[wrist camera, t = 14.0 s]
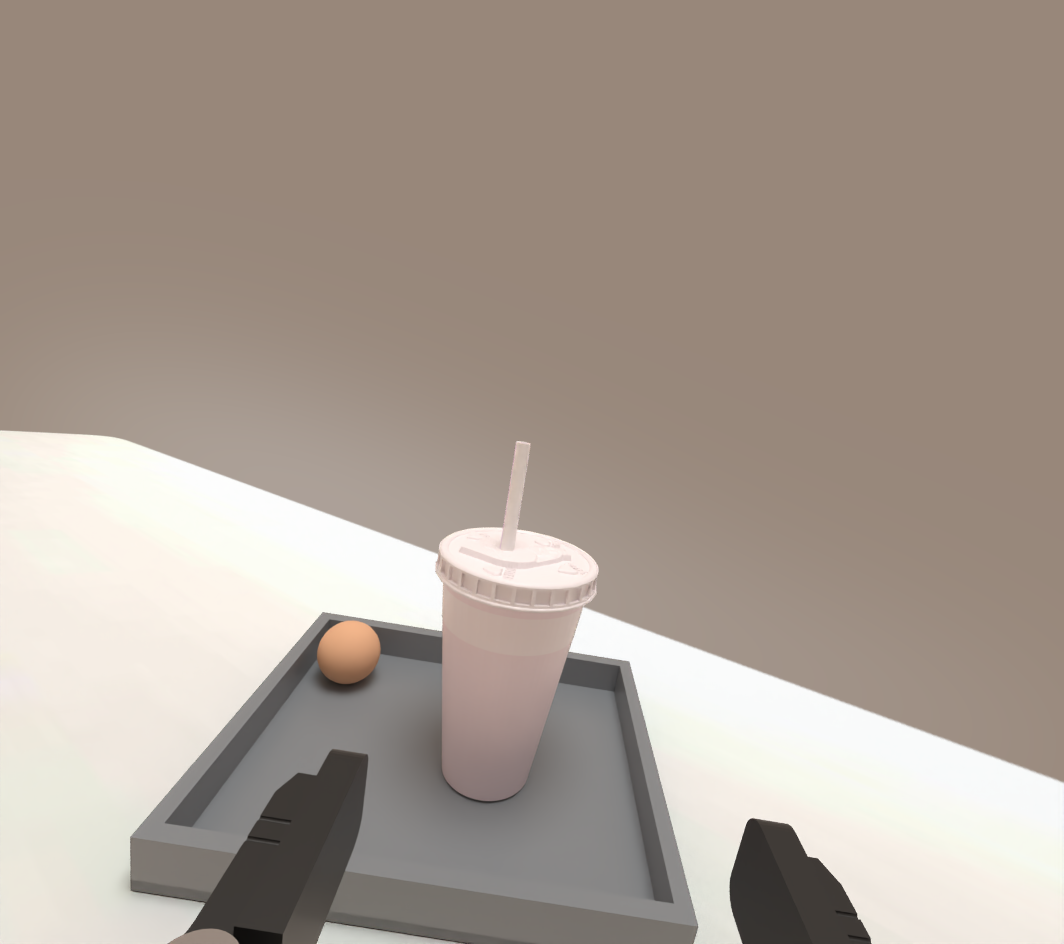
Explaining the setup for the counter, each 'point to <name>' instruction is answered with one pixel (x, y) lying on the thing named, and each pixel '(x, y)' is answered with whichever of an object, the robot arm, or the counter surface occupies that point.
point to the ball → (348, 652)
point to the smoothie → (504, 643)
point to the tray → (443, 806)
